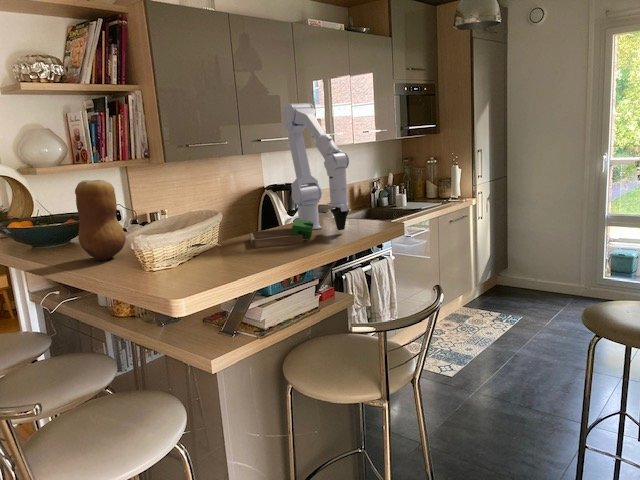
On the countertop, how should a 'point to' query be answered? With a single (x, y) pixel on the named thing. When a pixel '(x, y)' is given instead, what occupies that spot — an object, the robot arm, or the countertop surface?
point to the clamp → (302, 228)
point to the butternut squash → (98, 219)
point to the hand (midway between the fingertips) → (341, 229)
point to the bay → (274, 238)
